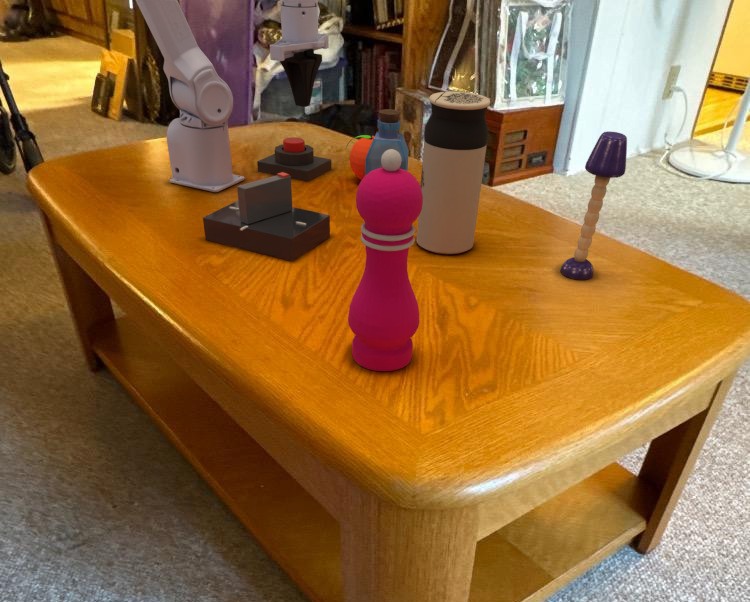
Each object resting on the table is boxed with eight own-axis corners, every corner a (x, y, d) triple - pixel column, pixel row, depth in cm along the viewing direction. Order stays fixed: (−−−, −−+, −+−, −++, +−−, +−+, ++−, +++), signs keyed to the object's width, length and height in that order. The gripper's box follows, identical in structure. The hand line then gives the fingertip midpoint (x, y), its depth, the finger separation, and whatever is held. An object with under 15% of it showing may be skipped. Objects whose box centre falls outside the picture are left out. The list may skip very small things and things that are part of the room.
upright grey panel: (247, 224, 89) (244, 187, 86) (240, 221, 90) (236, 184, 87) (292, 210, 94) (291, 174, 91) (285, 207, 95) (283, 171, 92)
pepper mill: (345, 339, 74) (347, 137, 60) (411, 339, 74) (427, 138, 61) (349, 375, 68) (352, 161, 55) (420, 374, 69) (440, 162, 55)
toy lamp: (598, 270, 90) (635, 131, 79) (595, 284, 87) (633, 141, 75) (562, 264, 91) (593, 126, 80) (557, 277, 88) (589, 136, 76)
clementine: (336, 182, 113) (336, 136, 108) (353, 171, 118) (354, 126, 113) (381, 190, 111) (382, 143, 106) (396, 178, 116) (398, 132, 111)
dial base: (200, 242, 92) (197, 218, 90) (251, 215, 100) (249, 193, 98) (287, 264, 88) (286, 240, 86) (333, 234, 96) (333, 211, 94)
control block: (257, 171, 116) (256, 149, 114) (283, 160, 121) (281, 138, 119) (307, 182, 113) (307, 159, 111) (331, 169, 118) (331, 148, 116)
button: (279, 152, 114) (278, 140, 113) (290, 147, 117) (290, 136, 116) (297, 155, 113) (297, 144, 112) (308, 150, 116) (308, 139, 115)
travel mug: (480, 240, 96) (500, 96, 84) (461, 260, 91) (480, 108, 79) (428, 229, 99) (441, 88, 87) (407, 248, 93) (417, 99, 81)
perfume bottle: (406, 190, 111) (411, 108, 103) (403, 203, 107) (408, 118, 99) (368, 188, 112) (371, 105, 104) (364, 200, 107) (366, 115, 99)
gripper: (296, 12, 98) (300, 117, 107) (344, 3, 107) (344, 100, 116) (255, 7, 100) (262, 111, 109) (306, -1, 110) (309, 94, 119)
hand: (302, 105), depth 113 cm, fingers closed
